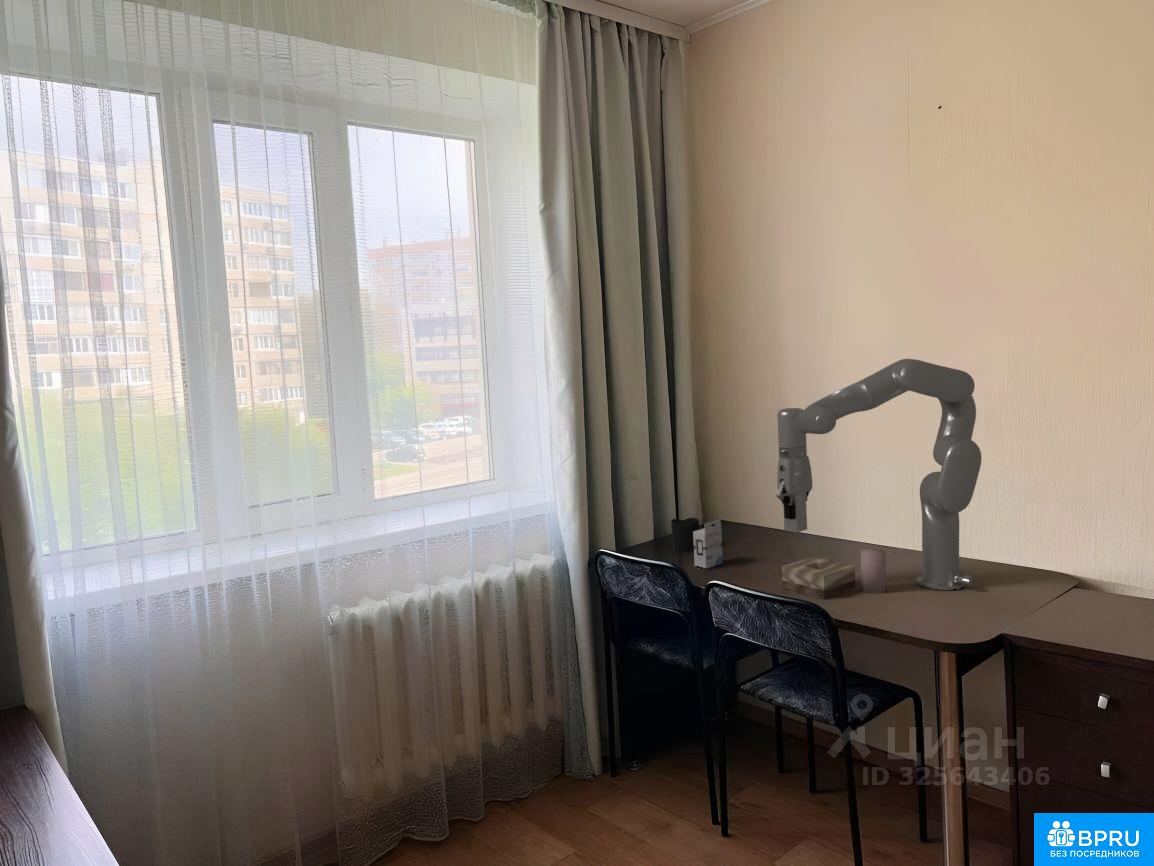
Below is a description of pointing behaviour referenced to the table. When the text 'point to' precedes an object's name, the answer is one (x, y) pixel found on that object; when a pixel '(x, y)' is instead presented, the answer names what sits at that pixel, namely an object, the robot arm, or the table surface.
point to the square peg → (797, 514)
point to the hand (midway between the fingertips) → (795, 516)
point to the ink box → (708, 545)
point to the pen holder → (684, 533)
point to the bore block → (818, 577)
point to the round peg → (873, 570)
